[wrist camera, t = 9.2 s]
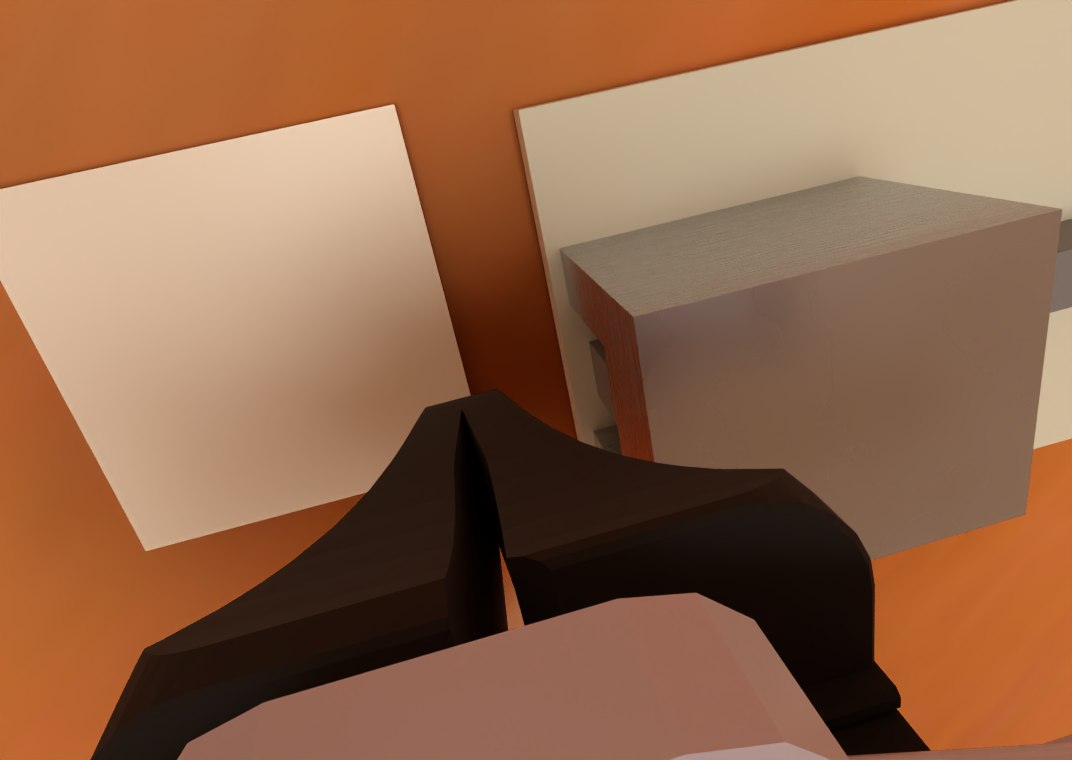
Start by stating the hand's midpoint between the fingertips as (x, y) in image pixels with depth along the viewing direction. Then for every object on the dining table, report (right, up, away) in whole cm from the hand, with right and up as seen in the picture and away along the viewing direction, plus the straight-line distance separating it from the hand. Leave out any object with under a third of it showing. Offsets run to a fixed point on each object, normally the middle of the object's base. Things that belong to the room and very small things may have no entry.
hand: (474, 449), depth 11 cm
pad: (-4, +2, +1) cm, 5 cm away
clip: (+5, +2, +2) cm, 6 cm away
